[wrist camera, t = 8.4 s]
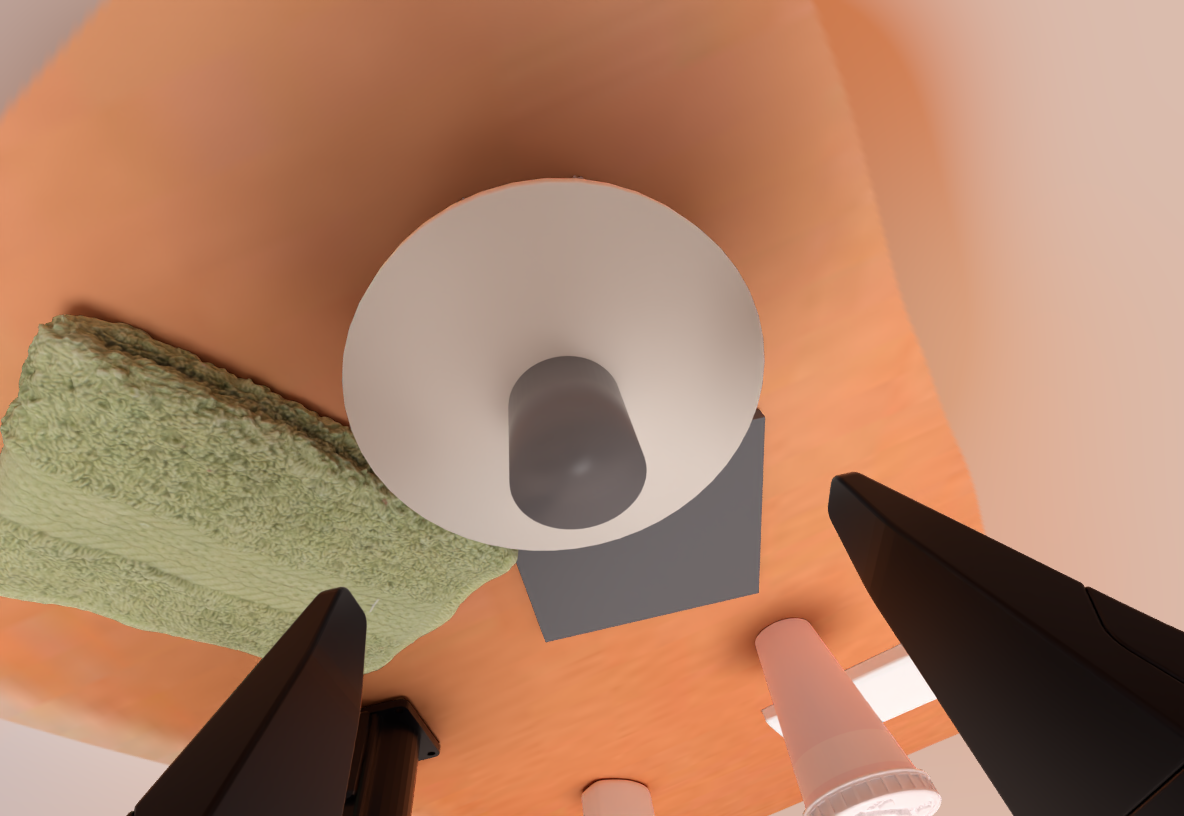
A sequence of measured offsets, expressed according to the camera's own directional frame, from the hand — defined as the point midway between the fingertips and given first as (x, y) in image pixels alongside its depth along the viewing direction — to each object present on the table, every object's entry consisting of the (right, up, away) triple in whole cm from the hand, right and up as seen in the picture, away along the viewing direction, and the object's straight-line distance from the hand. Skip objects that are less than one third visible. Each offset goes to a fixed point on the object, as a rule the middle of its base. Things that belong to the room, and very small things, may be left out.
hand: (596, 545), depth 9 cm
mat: (+2, -4, +16) cm, 16 cm away
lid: (-1, +3, +5) cm, 6 cm away
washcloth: (-14, -2, +13) cm, 19 cm away
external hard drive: (+19, -18, +29) cm, 39 cm away
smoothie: (+12, -12, +23) cm, 28 cm away
